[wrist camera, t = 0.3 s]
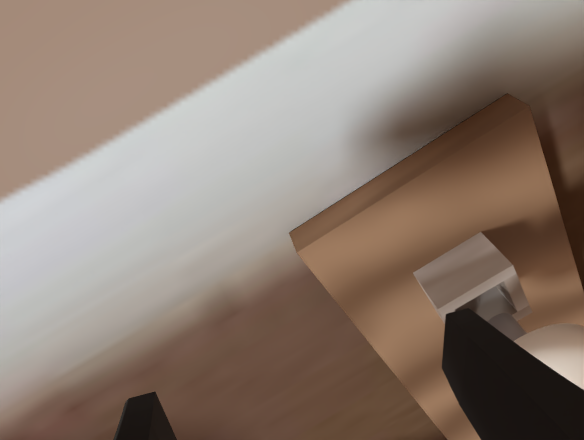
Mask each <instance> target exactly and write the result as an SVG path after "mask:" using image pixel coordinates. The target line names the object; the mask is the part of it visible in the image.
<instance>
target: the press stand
mask: <svg viewBox="0 0 584 440" xmlns="http://www.w3.org/2000/svg"><path fill="white" fill-rule="evenodd" d="M289 234H290V237H291V239H292V242H293V244H294V247H295V249H296V252H297V254H298V255H299V256H300V257H301V259H302V260H303V261H304V262H305V264H306V265H307V266H308V267H309V268H310V270H311V271H312V272H313V273H314V275H315V276H316V277H317V278H318V280H319V281H320V282H321V283H322V285H323V286H324V287H325V288H326V290H327V291H328V292H329V293H330V295H331V296H332V297H333V298H334V300H335V301H336V302H337V303H338V304H339V306H340V307H341V308H342V309H343V311H344V312H345V313H346V314H347V316H348V317H349V318H350V319H351V321H352V322H353V323H354V324H355V326H356V327H357V328H358V329H359V331H360V332H361V333H362V334H363V335H364V337H365V338H366V339H367V340H368V342H369V343H370V344H371V345H372V347H373V348H374V349H375V350H376V352H377V353H378V354H379V355H380V357H381V358H382V359H383V360H384V362H385V363H386V364H387V365H388V367H389V368H390V369H391V370H392V371H393V373H394V374H395V375H396V376H397V378H398V379H399V380H400V381H401V383H402V384H403V385H404V386H405V388H406V389H407V390H408V391H409V393H410V394H411V395H412V396H413V398H414V399H415V400H416V401H417V402H418V404H419V405H420V406H421V407H422V409H423V410H424V411H425V412H426V414H427V415H428V416H429V417H430V419H431V420H432V421H433V422H434V424H435V425H436V426H437V427H438V429H439V430H440V431H441V432H442V434H443V435H444V436H445V437H446V438H447V440H481V439H480V437H479V436H478V434H477V432H476V431H475V429H474V428H473V426H472V424H471V423H470V421H469V420H468V418H467V416H466V415H465V413H464V412H463V410H462V408H461V407H460V405H459V403H458V401H457V399H456V397H455V395H454V393H453V391H452V389H451V387H450V385H449V382H448V380H447V378H446V376H445V374H444V372H443V370H442V356H443V343H444V330H445V317H446V314H448V313H451V312H455V311H459V310H463V309H466V308H469V309H471V310H472V311H474V312H475V313H476V314H478V315H479V316H480V317H482V318H483V319H484V320H486V321H488V320H490V319H491V318H492V317H494V316H496V315H498V314H501V313H509V314H511V315H512V316H513V317H514V318H515V320H516V321H517V322H518V323H519V324H520V326H521V327H522V328H523V329H524V330H525V331H526V333H529V332H532V331H534V330H536V329H539V328H542V327H546V326H550V325H554V324H562V323H570V324H577V325H581V326H583V327H584V291H583V288H582V284H581V281H580V278H579V274H578V271H577V267H576V264H575V260H574V257H573V254H572V250H571V247H570V243H569V240H568V236H567V233H566V230H565V226H564V223H563V219H562V216H561V212H560V209H559V206H558V202H557V199H556V195H555V192H554V188H553V185H552V182H551V178H550V175H549V171H548V168H547V164H546V161H545V158H544V154H543V151H542V147H541V144H540V140H539V137H538V134H537V130H536V127H535V123H534V120H533V116H532V113H531V110H530V106H529V105H527V104H525V103H523V102H522V101H520V100H518V99H516V98H514V97H513V96H511V95H509V94H506V95H504V96H503V97H501V98H500V99H498V100H497V101H495V102H493V103H492V104H490V105H489V106H487V107H486V108H484V109H482V110H481V111H479V112H478V113H476V114H475V115H473V116H471V117H470V118H468V119H467V120H465V121H464V122H462V123H461V124H459V125H457V126H456V127H454V128H453V129H451V130H450V131H448V132H446V133H445V134H443V135H442V136H440V137H439V138H437V139H435V140H434V141H432V142H431V143H429V144H428V145H426V146H424V147H423V148H421V149H420V150H418V151H417V152H415V153H414V154H412V155H410V156H409V157H407V158H406V159H404V160H403V161H401V162H399V163H398V164H396V165H395V166H393V167H392V168H390V169H388V170H387V171H385V172H384V173H382V174H381V175H379V176H377V177H376V178H374V179H373V180H371V181H370V182H368V183H367V184H365V185H363V186H362V187H360V188H359V189H357V190H356V191H354V192H352V193H351V194H349V195H348V196H346V197H345V198H343V199H341V200H340V201H338V202H337V203H335V204H334V205H332V206H330V207H329V208H327V209H326V210H324V211H323V212H321V213H320V214H318V215H316V216H315V217H313V218H312V219H310V220H309V221H307V222H305V223H304V224H302V225H301V226H299V227H298V228H296V229H294V230H293V231H291V232H290V233H289Z"/></svg>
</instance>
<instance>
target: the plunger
mask: <svg viewBox="0 0 584 440" xmlns="http://www.w3.org/2000/svg"><path fill="white" fill-rule="evenodd" d="M487 322H488V323H490V324H491V325H492V326H494V327H495V328H496V329H498V330H499V331H500V332H502V333H503V334H504V335H506V336H507V337H508V338H510V339H511V340H512V341H514V342H515V343H516V344H518V345H519V346H520V347H522V348H523V349H525V350H526V351H527V352H529V353H530V354H531V355H533V356H534V357H536V358H537V359H539V360H540V361H541V362H543V363H544V364H546V365H547V366H549V367H550V368H552V369H553V370H554V371H556V372H557V373H559V374H560V375H562V376H563V377H565V378H566V379H568V380H569V381H571V382H572V383H574V384H575V385H577V386H578V387H580V388H582V389H583V390H584V327H583V326H581V325H577V324H570V323H562V324H554V325H550V326H546V327H542V328H539V329H536V330H534V331H532V332H529V333H526V331H525V330H524V329H523V328H522V327H521V326H520V324H519V323H518V322H517V321H516V320H515V318H514V317H513V316H512V315H511V314H509V313H501V314H498V315H496V316H494V317H492V318H491V319H490V320H488V321H487Z"/></svg>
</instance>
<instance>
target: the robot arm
mask: <svg viewBox="0 0 584 440" xmlns="http://www.w3.org/2000/svg"><path fill="white" fill-rule="evenodd" d="M442 370H443V372H444V374H445V376H446V378H447V380H448V382H449V385H450V387H451V389H452V391H453V393H454V395H455V397H456V399H457V401H458V403H459V405H460V407H461V408H462V410H463V412H464V413H465V415H466V416H467V418H468V420H469V421H470V423H471V424H472V426H473V428H474V429H475V431H476V432H477V434H478V436H479V437H480V439H481V440H584V390H583V389H582V388H580V387H578V386H577V385H575V384H574V383H572V382H571V381H569V380H568V379H566V378H565V377H563V376H562V375H560V374H559V373H557V372H556V371H554V370H553V369H552V368H550V367H549V366H547V365H546V364H544V363H543V362H541V361H540V360H539V359H537V358H536V357H534V356H533V355H531V354H530V353H529V352H527V351H526V350H525V349H523V348H522V347H520V346H519V345H518V344H516V343H515V342H514V341H512V340H511V339H510V338H508V337H507V336H506V335H504V334H503V333H502V332H500V331H499V330H498V329H496V328H495V327H494V326H492V325H491V324H490V323H488V322H487V321H486V320H484V319H483V318H482V317H480V316H479V315H478V314H476V313H475V312H474V311H472V310H471V309H469V308H466V309H463V310H459V311H455V312H451V313H448V314H446V317H445V330H444V343H443V356H442ZM114 440H177V439H176V437H175V435H174V432H173V430H172V428H171V426H170V423H169V421H168V419H167V417H166V415H165V412H164V410H163V408H162V406H161V403H160V401H159V399H158V397H157V395H156V392H152V393H148V394H144V395H140V396H137V397H133V398H129V399H128V400H127V401H126V403H125V406H124V409H123V412H122V416H121V419H120V422H119V425H118V428H117V431H116V434H115V437H114Z"/></svg>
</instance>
